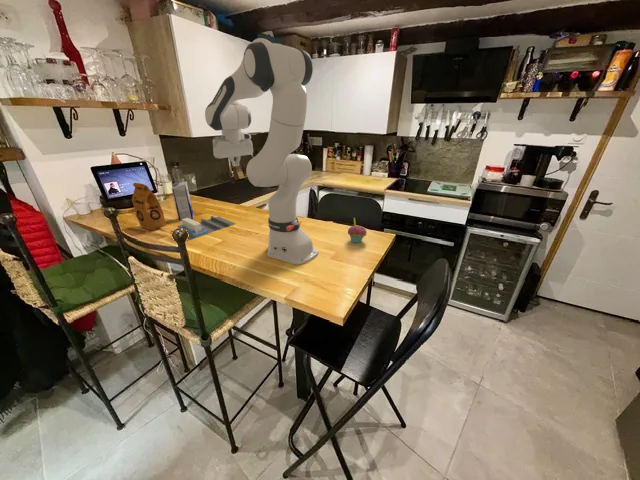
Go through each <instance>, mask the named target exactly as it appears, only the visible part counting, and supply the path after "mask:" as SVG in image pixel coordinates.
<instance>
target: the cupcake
mask: <svg viewBox="0 0 640 480" xmlns="http://www.w3.org/2000/svg"><path fill="white" fill-rule="evenodd" d="M347 235H349V237H350V240H351V242H352V243H356V244H359V243H361V242H362V241H363V238H364V237H366V236H367V229H366V228H365V227H363V226H362V225H357V224H356V218H355V217H353V225H352V226H351V227H349V228H348V229H347Z"/></svg>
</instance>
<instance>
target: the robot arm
mask: <svg viewBox="0 0 640 480" xmlns="http://www.w3.org/2000/svg"><path fill="white" fill-rule="evenodd" d="M312 75H313V61H312V57H311V56H310V54H309V53H308V52H307V51H305V50H304V49H302V48H300V47H292V46H289V45H284V44H281V43H277V42H276V43H274V42H271V41H270V40H268V39H267V38H264V37H263V38H262V37H259V38H254V40H253V41H252V42H251V43H249V44H248V45H247V46H246V47H245V50H244V53H243V57H242V60H241V63H240V64H239V67H238V68H237V69H236V70H235V71H234V72H233V73H231V74H230V75H229V76H228V77H226V78H225V79H224V80H223V81H222V83H221V85H220V86H219V88H218V90H217V92H216V94H215V95H214V97H213V99H212V101H211V102H210V103H209V104H208V105H207V106H206V108H205V111H204V117H205V122H206V124H207V125H208V126H209V127H210V128H211V129H213V130H214V131H217V132H218V131H221V136H214V137H213V139H212V147H213V148H212V150H213V151H212V152H213V153H212V154H213V156H214V158H215V159H226V158H227V159H228V160H229V161H230V162H231V166H232V167H239V166H240V161H241V157H242V156H249V155H250V156H251V155H253V153H254V147H253V141H252V140H251V139H252V135H251V134H250V133H246V132H244V131H242V130H245V129H248V128H249V127H250V125H251V123H252V115H251V111H250V109H249V108H248V107H247V106H245V105H243V104H241V103H240V102H238V101H239V100H246V99H254V98H259V97H261V96H262V95H263V94H265V92H268V91H270V92H271V95H272V107H271V113H270V114H271V115H270V121H269V122H270V123H269V130H268V135H267V138H266V141H265V143H264V145H263V147H262V148H261V150H260V151H259V152H258V153H257V154H256V155H255V156H254V157H253V158H251V159H250V160H249V161H248V163H247V165H246V169H245V170H246V176H247V179H248V181H249V182H250V183H251V184H252V185H253V186H254V187H258V188H259V187H261V188H262V187H263V188H269V187H275V186H276V187H277V186H278V189H277V190H276V191H275V192H274V193H273V194H272V195H271V196H270V197H269V198H268V202H267V205H268V206H267V207H268V216H269V217H268V221H267V222H268V228H269V234H268V246H267V252H266V256H267V257H269V258H272V259H276V260H279V261H282V262H285V263H290V264H293V265H296V266H297V265H303V264H306V263H308V262H309V261H311V260H314V258H316V257H317V256H318V255H319V250H318V249H317V248H315V247H313V245H314V244H313V240H312V238H311V237H310V235H309V234H308V233H306V232H305V231H304V230H303V229H302V228H301V225H302V221H299V219H298V216H297V201H298V196H299V193H300V190H301V188H302V186H303V185H304V183H305V182H306V181H307V180H308V179H309V178H310V177H311V174H312V172H313V169H312V168H313V167H312V163H311V161H310V159H309V158H308V156H306V154H305V155H303V154H297V153H293V152H295V151H296V150H297V149H298V148H299V147H300V145H301V143H302V137H303V134H304V129H305V122H306V116H307V106H308V105H307V104H308V93H307V89H306V88H305V86H306V85H309V84H308V83H310V81H311V79H312ZM235 158H236V159H235Z"/></svg>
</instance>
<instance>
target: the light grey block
mask: <svg viewBox="0 0 640 480" xmlns="http://www.w3.org/2000/svg"><path fill="white" fill-rule="evenodd" d="M181 222H182V225H183V226H185V228H186V229H188V230H193V233H195V234H196V233H199V232H202V228H201V224H200V223H199V221H196V220H194V219H190V218H185V219H182V220H181Z"/></svg>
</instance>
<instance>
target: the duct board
mask: <svg viewBox="0 0 640 480" xmlns="http://www.w3.org/2000/svg"><path fill="white" fill-rule="evenodd" d="M198 223H200V224H201V228H202V232H199V233H196V234H195V233H193V230H188V229H186V228H185V226H183V224H180V225H177V229H178V228H183V229H185V230H187V232H188V234H189V237H188V240H186V242H188V241H191V240H193V239H197V238H199V237H202V236H205V235H208V234H211V233H215V232H218V231H219V230H223V229H226V228H228V227H232V226H234V225H237V223H235V222H233V221H231V220H229V219H225V218H224V217H221V216H214V215H210V218H209V219H204V218H200V222H199V221H198ZM170 232H171V233H172V232H173V230H170Z"/></svg>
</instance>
